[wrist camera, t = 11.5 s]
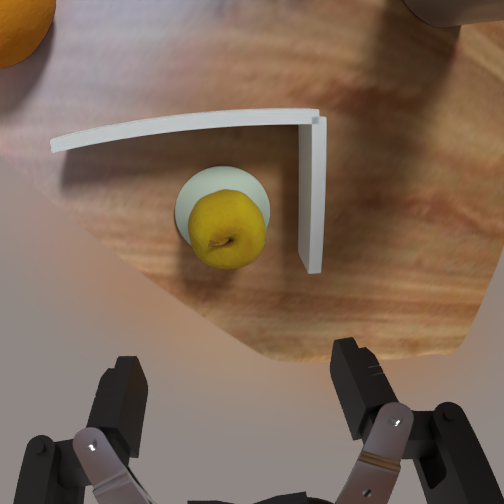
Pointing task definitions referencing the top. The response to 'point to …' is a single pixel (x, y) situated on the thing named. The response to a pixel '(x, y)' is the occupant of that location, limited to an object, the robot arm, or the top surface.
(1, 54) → the fruit
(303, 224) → the grey corner wall
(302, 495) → the robot arm
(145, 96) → the top surface
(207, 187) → the pad
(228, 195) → the apple
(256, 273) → the top surface
